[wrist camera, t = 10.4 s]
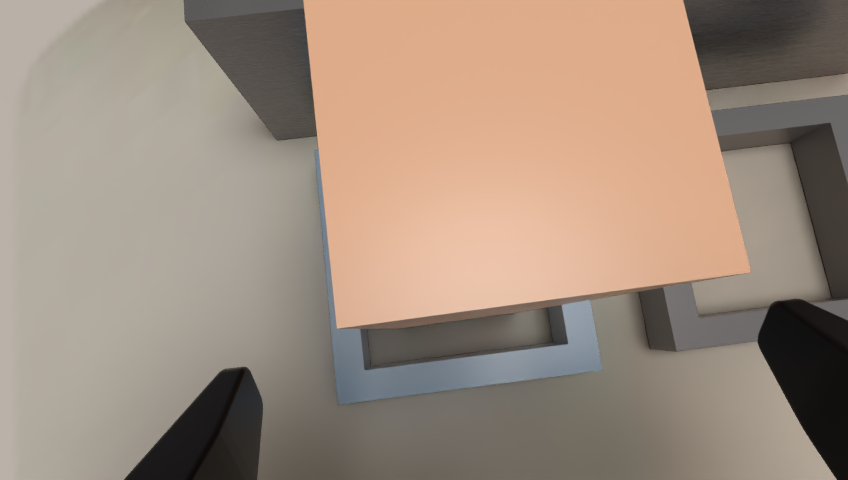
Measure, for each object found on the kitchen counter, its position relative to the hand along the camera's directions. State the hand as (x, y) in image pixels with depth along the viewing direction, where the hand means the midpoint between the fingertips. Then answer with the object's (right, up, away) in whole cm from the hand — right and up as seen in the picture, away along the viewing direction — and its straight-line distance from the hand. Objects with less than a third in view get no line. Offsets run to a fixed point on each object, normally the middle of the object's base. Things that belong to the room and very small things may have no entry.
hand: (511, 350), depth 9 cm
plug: (-1, +1, +11) cm, 11 cm away
